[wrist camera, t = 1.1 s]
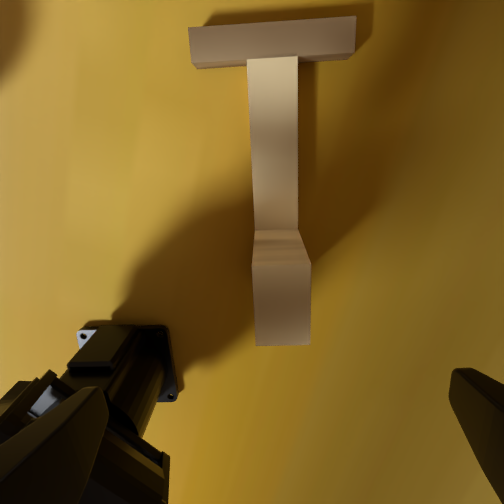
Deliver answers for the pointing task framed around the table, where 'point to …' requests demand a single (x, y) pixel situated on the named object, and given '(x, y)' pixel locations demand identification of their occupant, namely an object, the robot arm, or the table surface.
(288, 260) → the birch pusher
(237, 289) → the table surface
